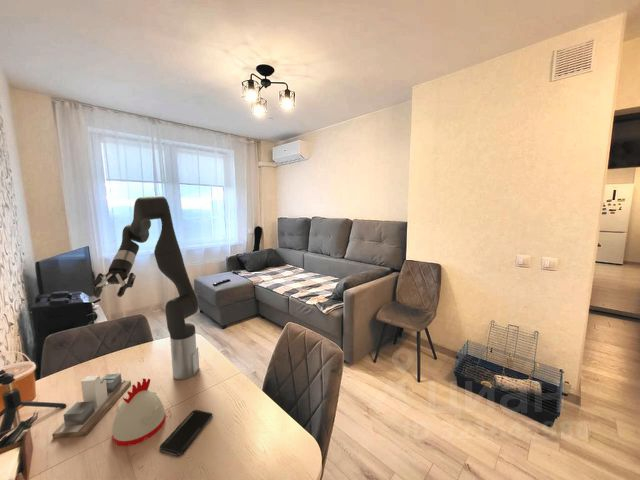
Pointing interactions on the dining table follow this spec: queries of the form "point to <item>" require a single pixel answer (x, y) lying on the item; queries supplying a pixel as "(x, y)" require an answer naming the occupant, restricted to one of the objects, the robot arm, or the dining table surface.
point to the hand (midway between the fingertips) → (107, 296)
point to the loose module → (94, 390)
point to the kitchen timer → (138, 416)
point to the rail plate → (96, 416)
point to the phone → (185, 433)
